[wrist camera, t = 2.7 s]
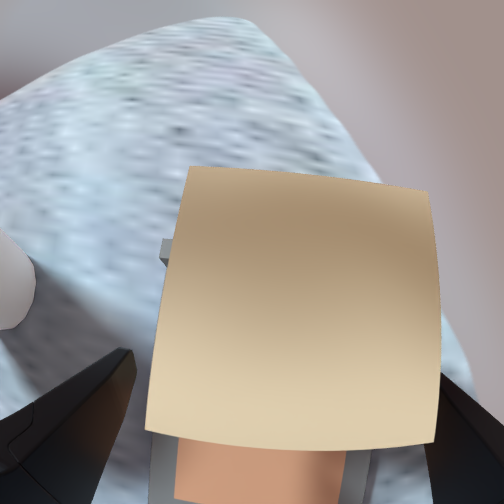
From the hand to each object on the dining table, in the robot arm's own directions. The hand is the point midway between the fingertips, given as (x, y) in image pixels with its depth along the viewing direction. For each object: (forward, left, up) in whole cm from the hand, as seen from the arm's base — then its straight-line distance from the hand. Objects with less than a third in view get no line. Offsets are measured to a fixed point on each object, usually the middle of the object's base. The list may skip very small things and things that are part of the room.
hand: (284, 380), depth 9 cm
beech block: (+1, -1, -8) cm, 8 cm away
